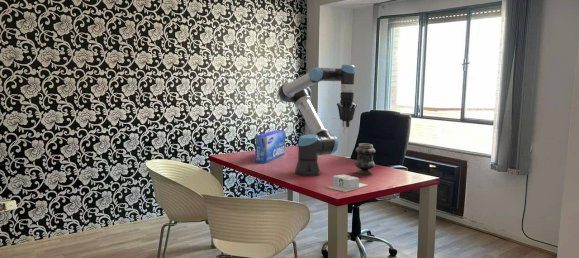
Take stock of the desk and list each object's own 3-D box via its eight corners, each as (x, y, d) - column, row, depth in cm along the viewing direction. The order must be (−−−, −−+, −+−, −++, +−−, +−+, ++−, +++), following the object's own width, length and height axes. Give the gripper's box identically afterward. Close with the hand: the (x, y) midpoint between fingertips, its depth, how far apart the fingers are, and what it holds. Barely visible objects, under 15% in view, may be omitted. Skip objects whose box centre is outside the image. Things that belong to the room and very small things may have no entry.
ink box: (344, 173, 241) (359, 177, 232) (343, 182, 242) (359, 187, 232) (332, 175, 236) (348, 179, 227) (332, 184, 236) (347, 189, 227)
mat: (328, 188, 231) (328, 186, 231) (351, 182, 245) (351, 181, 245) (345, 192, 224) (345, 190, 223) (367, 185, 238) (367, 184, 238)
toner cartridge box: (266, 163, 294) (266, 136, 292) (254, 162, 297) (255, 135, 295) (285, 154, 331) (285, 130, 328) (274, 153, 333) (275, 129, 331)
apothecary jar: (378, 173, 270) (379, 144, 268) (366, 176, 262) (367, 146, 260) (362, 170, 279) (363, 142, 277) (350, 172, 270) (351, 143, 268)
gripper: (334, 91, 255) (332, 131, 258) (352, 92, 246) (350, 134, 249) (342, 91, 260) (340, 130, 263) (360, 92, 251) (358, 133, 254)
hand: (345, 132), depth 256 cm, fingers closed
